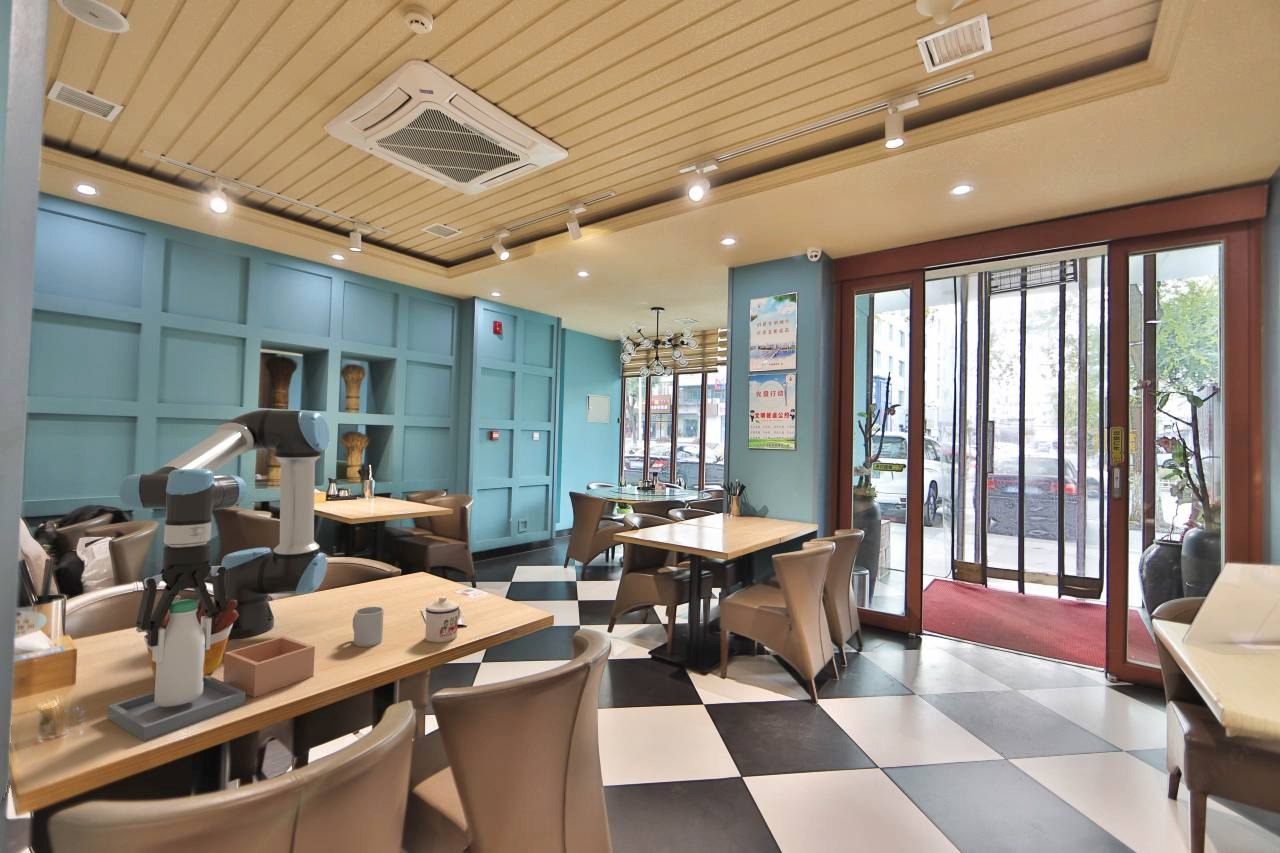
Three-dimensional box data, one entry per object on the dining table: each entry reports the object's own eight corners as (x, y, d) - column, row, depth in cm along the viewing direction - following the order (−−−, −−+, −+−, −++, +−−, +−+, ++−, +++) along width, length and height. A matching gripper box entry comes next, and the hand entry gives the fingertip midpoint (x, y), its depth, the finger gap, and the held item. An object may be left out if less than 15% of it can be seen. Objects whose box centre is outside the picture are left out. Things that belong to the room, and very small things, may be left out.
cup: (364, 649, 148) (366, 616, 148) (341, 642, 153) (342, 610, 153) (388, 641, 155) (389, 609, 155) (364, 634, 159) (366, 603, 159)
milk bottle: (201, 702, 112) (205, 603, 112) (150, 711, 108) (156, 609, 108) (204, 687, 118) (209, 594, 119) (157, 696, 114) (162, 599, 114)
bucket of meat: (119, 682, 125) (124, 594, 125) (195, 655, 141) (199, 578, 141) (182, 696, 119) (187, 604, 120) (254, 666, 135) (258, 585, 136)
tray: (107, 718, 109) (108, 705, 109) (207, 686, 124) (207, 675, 124) (143, 741, 102) (144, 727, 102) (245, 703, 117) (245, 692, 117)
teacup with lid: (442, 645, 153) (443, 603, 153) (417, 640, 156) (418, 598, 156) (470, 632, 164) (472, 593, 164) (447, 627, 167) (448, 589, 167)
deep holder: (223, 683, 126) (224, 652, 126) (282, 664, 137) (283, 636, 137) (254, 697, 119) (255, 665, 120) (313, 676, 131) (314, 646, 131)
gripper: (132, 553, 103) (126, 676, 103) (250, 538, 121) (245, 642, 120) (115, 549, 107) (109, 667, 106) (233, 534, 125) (227, 636, 124)
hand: (181, 654), depth 113 cm, fingers closed on milk bottle, 7 cm apart
